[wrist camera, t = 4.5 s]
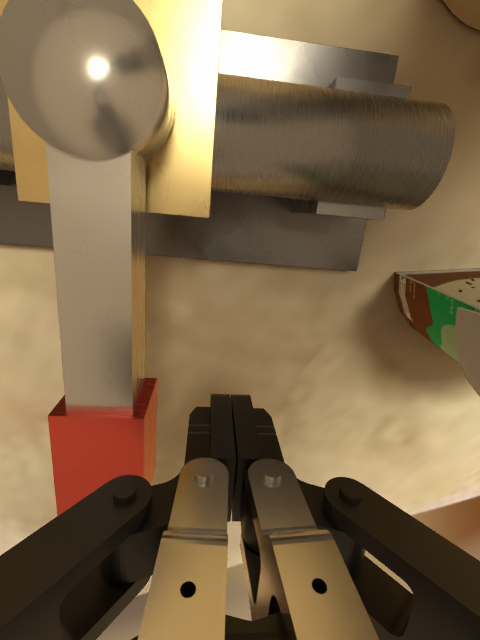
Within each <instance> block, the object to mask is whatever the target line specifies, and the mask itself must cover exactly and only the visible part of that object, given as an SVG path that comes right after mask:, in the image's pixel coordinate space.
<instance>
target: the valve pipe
mask: <svg viewBox="0 0 480 640" xmlns="http://www.w3.org/2000/svg"><path fill="white" fill-rule="evenodd" d="M133 1H134V2H135V3H136V4H137V5H138V7H139V8H140V9H141V11H142V12H143V14H144V15H145V17H146V18H147V20H148V22H149V24H150V26H151V28H152V30H153V32H154V34H155V37H156V39H157V42H158V45H159V48H160V51H161V54H162V57H163V60H164V63H165V66H166V69H167V72H168V75H169V78H170V81H171V85H172V89H173V94H174V103H175V111H174V120H173V125H172V129H171V131H170V134H169V136H168V138H167V140H166V142H165V144H164V145H163V147H162V148H161V149H160V150H159V152H158V153H157V154H156V155H155V156H153V157H152V158H151V159H150V160H148V161H146V207H145V254H146V255H159V256H172V257H184V258H197V259H210V260H222V261H235V262H248V263H260V264H273V265H286V266H298V267H311V268H324V269H336V270H349V271H357V267H358V261H359V256H360V251H361V246H362V241H363V236H364V231H365V226H366V220H367V219H376V220H383V219H384V214H385V209H386V208H392V209H402V210H412V209H415V208H417V207H418V206H420V205H421V204H422V203H424V202H425V201H426V200H427V199H428V198H429V196H430V195H431V194H432V193H433V191H434V190H435V188H436V187H437V185H438V184H439V182H440V180H441V178H442V176H443V174H444V172H445V170H446V167H447V164H448V162H449V159H450V155H451V152H452V147H453V141H454V130H455V128H454V118H453V115H452V112H451V110H450V108H449V107H448V106H447V105H445V104H443V103H437V102H430V101H423V100H415V99H409V95H410V90H411V87H409V86H401V85H394V84H393V82H394V77H395V72H396V67H397V62H398V56H395V55H389V54H382V53H375V52H368V51H361V50H355V49H348V48H341V47H334V46H328V45H321V44H314V43H307V42H300V41H294V40H287V39H280V38H273V37H267V36H260V35H253V34H246V33H239V32H233V31H226V30H221V10H222V0H133ZM7 2H8V0H0V18H1V15H2V12H3V10H4V8H5V6H6V4H7ZM0 243H7V244H20V245H32V246H45V247H53V234H52V221H51V208H50V195H49V182H48V169H47V156H46V143H45V141H44V140H43V139H42V138H40V137H39V136H38V135H36V134H35V133H34V132H33V131H32V130H31V129H30V128H29V127H28V126H27V125H26V123H25V122H24V121H23V120H22V119H21V117H20V116H19V114H18V113H17V112H16V110H15V109H14V107H13V105H12V103H11V102H10V100H9V98H8V96H7V94H6V91H5V89H4V86H3V84H2V80H1V77H0Z"/></svg>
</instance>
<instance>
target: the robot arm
mask: <svg viewBox="0 0 480 640" xmlns="http://www.w3.org/2000/svg"><path fill="white" fill-rule="evenodd" d="M443 1H444V2H445V4H446V5H447V6H448V8H449V9H450V11H451V12H452V13H453V14H454V15H455V16H456V17H458V18H459V19H460V20H461V21H462V22H464V23H465V24H466V25H468V26H471V27H473V28H475V29H477V30H479V31H480V0H443ZM231 508H232V521H241V530H242V532H241V541H240V549H241V555H242V561H243V567H244V573H245V579H246V585H247V591H248V597H249V603H250V610H251V618H252V621H248V620H243V619H240V618H235V617H232V616H228V615H225V610H226V579H227V578H226V577H227V548H228V534H227V522H229V521H230V518H231ZM365 550H366V551H368V552H369V553H370V554H371V555H373V556H374V557H375V558H376V559H378V560H379V561H380V562H381V563H383V564H384V565H385V566H387V567H388V568H389V569H390V570H391V571H393V572H394V573H395V574H396V575H398V576H399V577H400V578H401V579H403V580H404V581H405V582H406V583H407V584H408V586H409V587H410V588H411V590H412V592H413V594H411V593H410V592H409V591H408V590H406V589H405V588H404V587H403V586H402V585H400V584H399V583H398V582H397V581H395V580H394V579H393V578H392V577H390V576H389V575H388V574H387V573H386V572H384V571H383V570H382V569H381V568H379V567H378V566H377V565H375V564H374V563H373V562H372V561H371V560H370V559H368V558H367V557H366V556H365V555H364V554H365ZM151 575H153V576H152V580H151V584H150V589H149V593H148V598H147V602H146V606H145V610H144V614H143V619H142V623H141V627H140V631H139V635H138V636H136V637H134V638H133V639H131V640H480V561H479V560H477V559H476V558H474V557H473V556H471V555H469V554H468V553H467V552H465V551H463V550H462V549H460V548H459V547H457V546H456V545H454V544H453V543H451V542H450V541H448V540H447V539H445V538H444V537H442V536H440V535H439V534H438V533H436V532H435V531H433V530H432V529H430V528H429V527H427V526H425V525H424V524H423V523H421V522H419V521H418V520H416V519H415V518H413V517H412V516H410V515H409V514H407V513H406V512H404V511H403V510H401V509H400V508H398V507H397V506H395V505H394V504H392V503H391V502H389V501H388V500H386V499H385V498H383V497H382V496H380V495H379V494H377V493H375V492H374V491H372V490H371V489H369V488H368V487H366V486H365V485H363V484H362V483H360V482H358V481H356V480H354V479H351V478H346V477H336V478H333V479H331V480H329V481H328V482H327V483H326V485H325V488H322V487H319V486H315V485H311V484H308V483H305V482H303V481H300V480H299V479H297V478H296V476H295V474H294V472H293V470H292V469H291V468H290V467H289V466H288V465H287V464H285V463H284V459H283V456H282V453H281V449H280V446H279V442H278V439H277V435H276V432H275V428H274V425H273V421H272V418H271V416H270V415H269V414H268V413H267V412H266V411H265V410H264V409H260V408H253V406H252V402H251V397H250V395H232V394H231V397H230V394H211V398H210V407H196V408H195V409H194V410H193V411H192V413H191V414H190V418H189V427H188V437H187V446H186V456H185V464H184V466H183V468H182V469H181V472H180V473H179V474H178V475H177V476H176V477H175V478H173V479H172V480H170V481H168V482H165V483H162V484H158V485H154V486H151V484H150V483H149V482H148V481H147V480H146V479H145V478H143V477H141V476H137V475H123V476H119V477H116V478H114V479H112V480H110V481H108V482H107V483H105V484H104V485H102V486H101V487H99V488H98V489H97V490H95V491H94V492H92V493H91V494H89V495H88V496H86V497H85V498H83V499H82V500H81V501H79V502H78V503H76V504H75V505H73V506H72V507H70V508H69V509H67V510H66V511H65V512H63V513H62V514H60V515H59V516H57V517H56V518H54V519H53V520H52V521H50V522H49V523H47V524H46V525H44V526H43V527H41V528H40V529H38V530H37V531H36V532H34V533H33V534H31V535H30V536H28V537H27V538H25V539H24V540H23V541H21V542H20V543H18V544H17V545H15V546H14V547H12V548H11V549H9V550H8V551H7V552H5V553H4V554H2V555H1V556H0V640H96V639H97V638H98V637H99V636H100V635H101V633H102V632H103V631H104V630H105V629H106V628H107V627H108V626H109V625H110V624H111V623H112V622H113V620H114V619H115V618H116V617H117V616H118V615H119V614H120V613H121V612H122V611H123V610H124V608H125V607H126V606H127V605H128V604H129V603H130V602H131V601H132V600H133V599H134V598H135V596H136V595H137V594H138V593H139V592H140V591H141V590H142V589H143V588H144V586H145V585H146V584H147V582H148V581H149V579H150V576H151Z"/></svg>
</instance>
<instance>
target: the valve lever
mask: <svg viewBox="0 0 480 640" xmlns="http://www.w3.org/2000/svg"><path fill="white" fill-rule="evenodd" d="M0 77H1V80H2V84H3V86H4V89H5V91H6V94H7V96H8V98H9V100H10V102H11V103H12V105H13V107H14V109H15V110H16V112H17V113H18V114H19V116H20V117H21V119H22V120H23V121H24V122H25V123H26V125H27V126H28V127H29V128H30V129H31V130H32V131H33V132H34V133H35V134H36V135H38V136H39V137H40V138H42V139H43V140H44V141H45V143H46V156H47V169H48V182H49V195H50V208H51V221H52V234H53V247H54V260H55V273H56V286H57V299H58V312H59V325H60V338H61V351H62V364H63V377H64V390H65V395H64V396H63V398H62V399H61V400H60V401H59V403H58V404H57V405H56V406H55V408H54V409H53V410H52V411H51V413H50V414H49V415H48V421H49V432H50V442H51V452H52V463H53V473H54V484H55V494H56V504H57V515H58V516H59V515H60V514H62V513H63V512H65V511H66V510H67V509H69V508H70V507H72V506H73V505H75V504H76V503H78V502H79V501H81V500H82V499H83V498H85V497H86V496H88V495H89V494H91V493H92V492H94V491H95V490H97V489H98V488H99V487H101V486H102V485H104V484H105V483H107V482H108V481H110V480H112V479H114V478H116V477H119V476H123V475H137V476H141V477H143V478H145V479H146V480H147V481H148V482H149V483H150V484H151V483H152V479H153V474H154V470H155V465H156V411H157V379H155V378H145V207H146V161H148V160H150V159H151V158H152V157H153V156H155V155H156V154H157V153H158V152H159V150H160V149H161V148H162V147H163V145H164V144H165V142H166V140H167V138H168V136H169V134H170V131H171V129H172V125H173V120H174V111H175V103H174V94H173V89H172V85H171V81H170V78H169V75H168V72H167V69H166V66H165V63H164V60H163V57H162V54H161V51H160V48H159V45H158V42H157V39H156V37H155V34H154V32H153V30H152V28H151V26H150V24H149V22H148V20H147V18H146V17H145V15H144V14H143V12H142V11H141V9H140V8H139V7H138V5H137V4H136V3H135V2H134V1H133V0H8V2H7V4H6V6H5V8H4V10H3V12H2V15H1V18H0Z"/></svg>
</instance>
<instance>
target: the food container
mask: <svg viewBox="0 0 480 640" xmlns="http://www.w3.org/2000/svg"><path fill="white" fill-rule="evenodd" d="M394 291H395V295H396V298H397V302H398V306H399V309H400V311H401V313H402V314H403V315H404V317H405V318H406V320H407V321H408V322H409V324H410V325H411V326H412V327H413V328H414V329H416V330H417V331H418V332H419V333H421V334H422V335H423V336H425V337H426V338H427V339H428V340H430V341H431V342H432V343H434V344H435V345H436V346H437V347H439V348H440V349H441V350H443V351H444V352H445V353H447V354H448V355H449V356H450V357H452V358H453V359H454V360H456V361H457V362H458V363H459V364H461V367H462V369H463V371H464V373H465V375H466V377H467V379H468V382H469V383H470V384H471V386H472V387H473V388H474V390H475V391H476V392H477V394H478V395H479V396H480V268H471V269H450V270H430V271H410V272H395V274H394Z"/></svg>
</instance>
